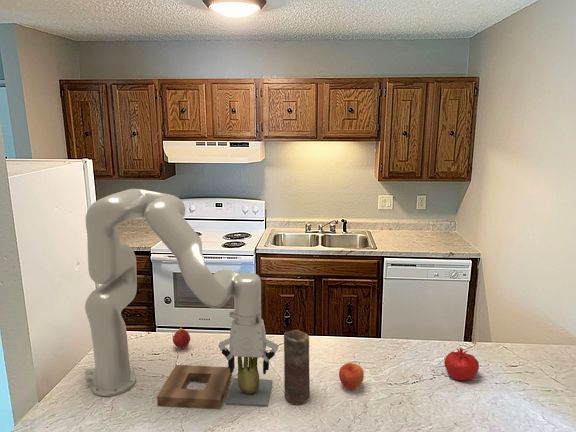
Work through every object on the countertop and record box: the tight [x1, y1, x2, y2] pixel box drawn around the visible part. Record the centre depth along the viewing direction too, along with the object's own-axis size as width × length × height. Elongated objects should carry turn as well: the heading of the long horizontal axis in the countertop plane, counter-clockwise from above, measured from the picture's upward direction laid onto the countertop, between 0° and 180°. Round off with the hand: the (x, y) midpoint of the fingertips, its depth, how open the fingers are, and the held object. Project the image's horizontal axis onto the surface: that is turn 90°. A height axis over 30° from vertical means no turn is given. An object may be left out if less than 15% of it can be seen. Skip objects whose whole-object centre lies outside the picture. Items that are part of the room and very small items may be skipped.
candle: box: [283, 329, 311, 405], centre depth 121 cm, size 8×7×20 cm
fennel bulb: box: [237, 357, 260, 394], centre depth 124 cm, size 6×5×12 cm
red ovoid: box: [172, 327, 191, 350], centre depth 149 cm, size 6×6×8 cm
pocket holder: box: [156, 364, 233, 410], centre depth 126 cm, size 18×16×3 cm
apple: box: [338, 362, 365, 391], centre depth 127 cm, size 7×7×8 cm
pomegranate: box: [443, 347, 480, 381], centre depth 133 cm, size 10×10×9 cm
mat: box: [225, 377, 273, 408], centre depth 125 cm, size 12×12×1 cm
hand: (248, 370), depth 124 cm, fingers open, 9 cm apart
